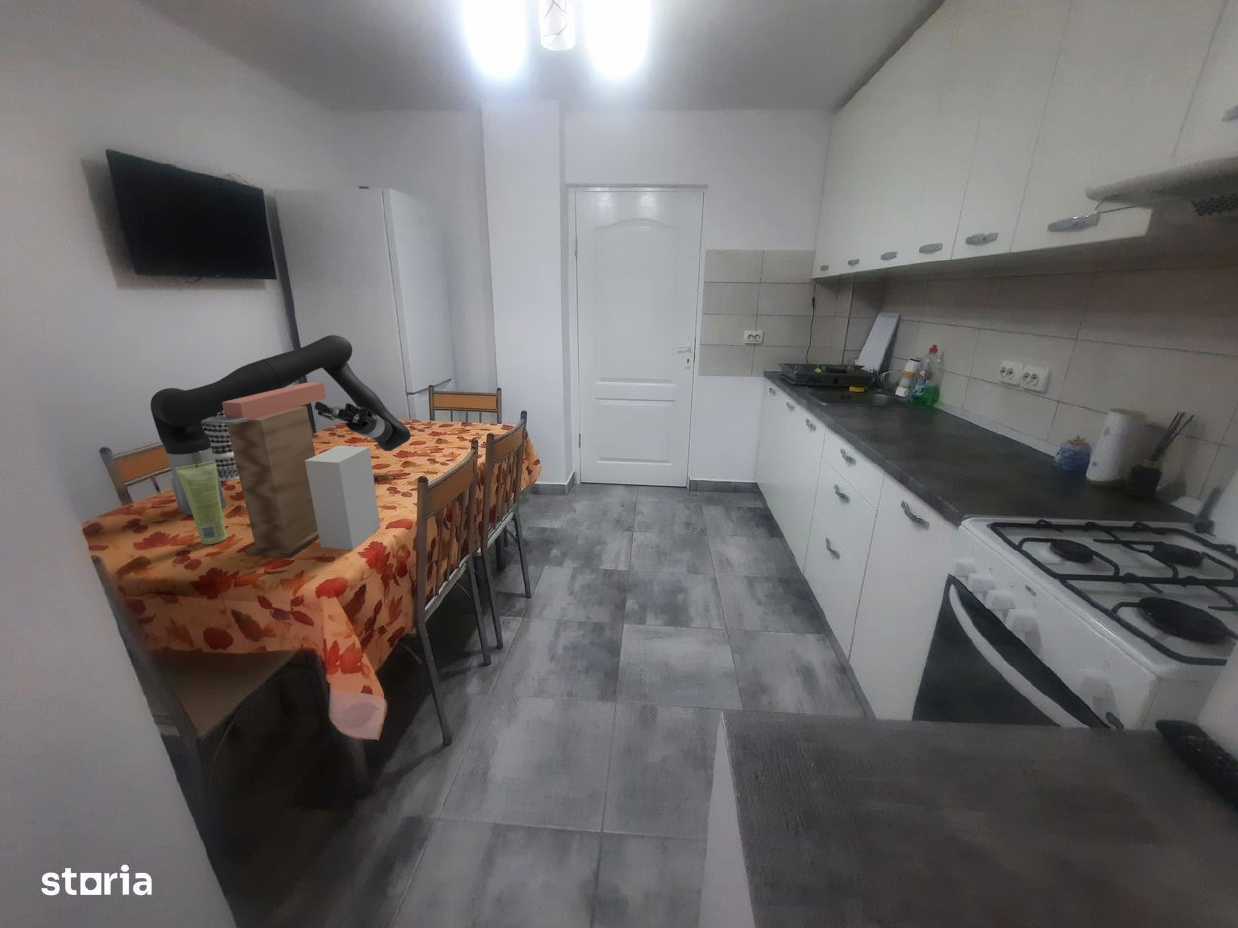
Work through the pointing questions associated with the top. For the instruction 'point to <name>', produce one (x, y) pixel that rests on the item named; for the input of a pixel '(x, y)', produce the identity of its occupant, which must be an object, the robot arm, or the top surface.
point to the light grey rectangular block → (343, 496)
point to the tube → (204, 500)
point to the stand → (276, 481)
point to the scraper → (268, 403)
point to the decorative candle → (222, 449)
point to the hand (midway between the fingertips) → (331, 405)
